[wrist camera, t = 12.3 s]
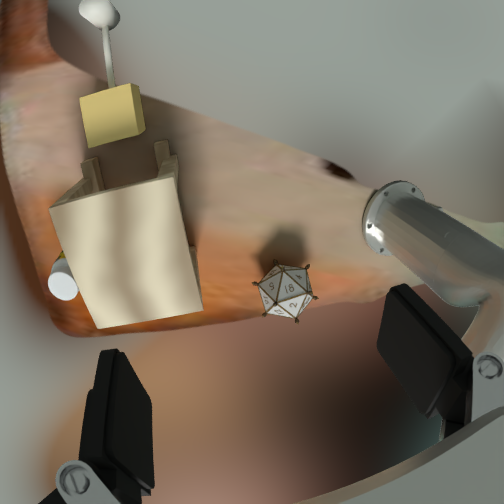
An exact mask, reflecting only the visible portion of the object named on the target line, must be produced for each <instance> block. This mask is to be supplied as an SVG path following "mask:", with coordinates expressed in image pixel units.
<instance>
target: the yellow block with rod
mask: <svg viewBox="0 0 504 504" xmlns="http://www.w3.org/2000/svg"><path fill="white" fill-rule="evenodd" d="M79 13H80V14H81V15H82V16H83V17H84V18H86V19H87V20H88V21H90V22H91V23H92V24H93V25H95V26H96V27H97V28H98V29H100V30H101V31H102V37H103V47H104V57H105V65H106V73H107V80H108V87H109V89H107V90H103V91H100V92H97V93H94V94H90V95H87V96H84V97H81V98H79V100H80V106H81V112H82V117H83V123H84V128H85V133H86V138H87V143H88V148H92V147H95V146H99V145H102V144H106V143H109V142H113V141H116V140H120V139H124V138H128V137H132V136H136V135H139V134H141V133H142V132H143V131H145V130H146V127H145V122H144V116H143V110H142V104H141V97H140V91H139V86H137V85H134V84H131V83H129V84H125V85H121V86H117V87H116V86H115V79H114V72H113V64H112V56H111V47H110V37H109V30H111V29H113V28H115V27H116V26H117V24H118V23H119V21H120V15H119V13H118V11H117V10H116V9H115V7H114V6H113V5H112V4H111V2H110V1H109V0H82V1H81V3H80V5H79Z"/></svg>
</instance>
